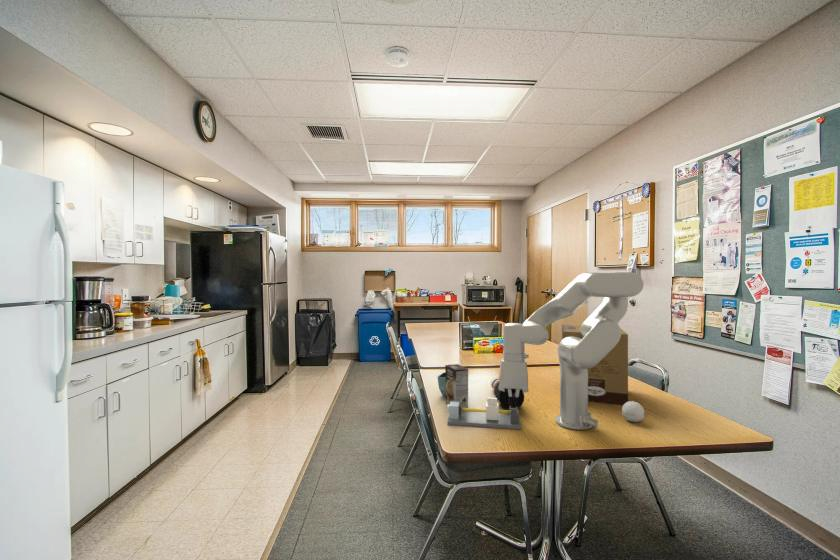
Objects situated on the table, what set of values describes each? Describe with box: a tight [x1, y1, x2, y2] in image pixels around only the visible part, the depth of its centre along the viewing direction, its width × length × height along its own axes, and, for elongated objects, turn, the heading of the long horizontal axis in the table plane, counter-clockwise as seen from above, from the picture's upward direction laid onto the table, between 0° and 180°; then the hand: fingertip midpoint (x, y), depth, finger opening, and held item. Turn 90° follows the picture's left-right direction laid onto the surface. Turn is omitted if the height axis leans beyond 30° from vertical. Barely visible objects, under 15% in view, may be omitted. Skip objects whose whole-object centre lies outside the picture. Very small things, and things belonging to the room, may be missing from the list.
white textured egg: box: [621, 400, 650, 423], centre depth 135 cm, size 10×7×7 cm
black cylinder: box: [490, 377, 525, 410], centre depth 164 cm, size 10×34×10 cm, turn 177°
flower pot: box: [437, 371, 446, 397], centre depth 168 cm, size 9×9×9 cm
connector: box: [446, 401, 463, 419], centre depth 139 cm, size 5×5×5 cm
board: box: [447, 406, 522, 430], centre depth 137 cm, size 26×10×5 cm, turn 80°
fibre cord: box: [461, 407, 510, 415], centre depth 137 cm, size 22×1×1 cm, turn 80°
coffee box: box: [444, 363, 469, 408], centre depth 155 cm, size 9×6×16 cm
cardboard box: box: [561, 323, 629, 406], centre depth 169 cm, size 26×26×30 cm
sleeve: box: [485, 397, 500, 420], centre depth 136 cm, size 4×5×7 cm
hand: (513, 406), depth 135 cm, fingers closed
